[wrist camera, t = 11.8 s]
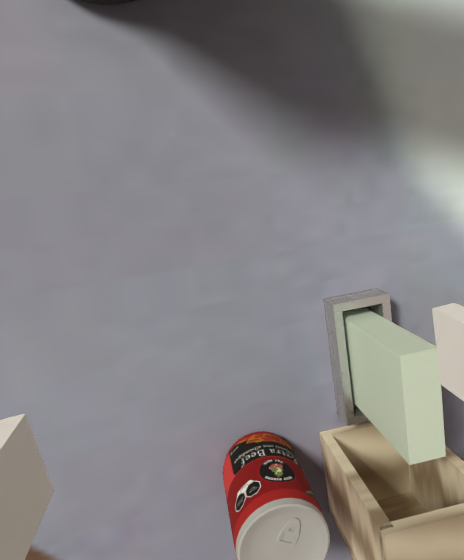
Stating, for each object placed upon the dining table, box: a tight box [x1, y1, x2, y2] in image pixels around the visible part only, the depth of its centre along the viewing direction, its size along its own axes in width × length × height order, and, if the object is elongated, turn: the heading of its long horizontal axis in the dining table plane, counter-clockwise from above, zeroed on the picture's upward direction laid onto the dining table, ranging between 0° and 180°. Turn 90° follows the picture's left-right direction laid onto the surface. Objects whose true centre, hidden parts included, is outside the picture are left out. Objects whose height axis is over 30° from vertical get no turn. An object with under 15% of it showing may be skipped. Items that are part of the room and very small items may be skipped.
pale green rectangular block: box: [342, 308, 446, 465], centre depth 37 cm, size 9×4×12 cm, turn 9°
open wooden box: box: [320, 421, 464, 560], centre depth 38 cm, size 10×10×14 cm
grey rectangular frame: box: [323, 288, 392, 426], centre depth 41 cm, size 13×6×3 cm, turn 9°
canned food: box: [223, 432, 330, 560], centre depth 38 cm, size 8×8×11 cm
